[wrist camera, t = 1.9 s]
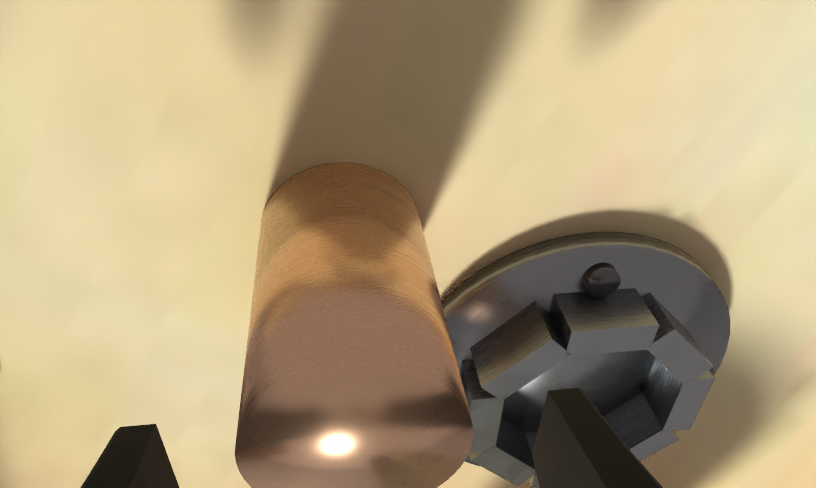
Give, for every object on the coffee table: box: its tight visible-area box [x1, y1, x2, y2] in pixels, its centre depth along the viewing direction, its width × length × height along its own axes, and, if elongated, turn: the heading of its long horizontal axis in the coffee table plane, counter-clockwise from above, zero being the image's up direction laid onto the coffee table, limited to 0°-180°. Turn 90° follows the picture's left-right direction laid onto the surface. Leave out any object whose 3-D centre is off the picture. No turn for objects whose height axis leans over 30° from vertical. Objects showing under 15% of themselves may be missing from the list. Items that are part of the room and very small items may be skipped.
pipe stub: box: [235, 163, 473, 488], centre depth 14 cm, size 4×4×7 cm
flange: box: [442, 233, 730, 488], centre depth 20 cm, size 11×11×2 cm
